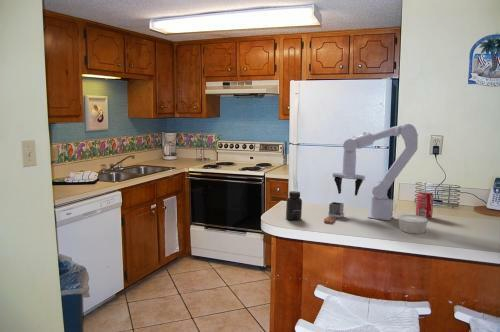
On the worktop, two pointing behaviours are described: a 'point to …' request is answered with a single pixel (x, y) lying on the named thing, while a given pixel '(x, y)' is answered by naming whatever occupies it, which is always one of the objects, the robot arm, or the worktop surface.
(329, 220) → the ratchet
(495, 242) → the worktop surface
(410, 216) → the ramekin
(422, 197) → the soda can
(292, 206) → the supplement bottle
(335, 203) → the socket
